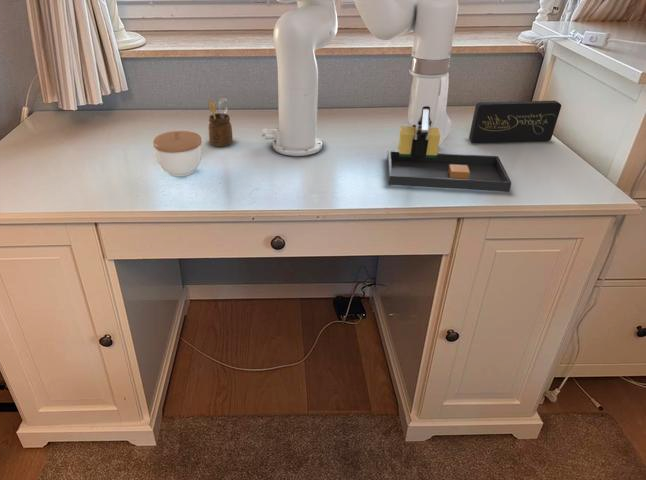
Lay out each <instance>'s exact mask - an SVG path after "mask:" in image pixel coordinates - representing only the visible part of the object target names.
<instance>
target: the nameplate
mask: <svg viewBox="0 0 646 480" xmlns="http://www.w3.org/2000/svg"><path fill="white" fill-rule="evenodd" d="M561 110H562V103H560V102H559V101H557V100H521V101H520V100H519V101H518V100H517V101H513V100H512V101H479V102H478V103H476V104H475V107H474V112H473V117H472V122H471V125H470V131H469V135H468V140H469V141H470V142H471V143H472V144H501V143H502V144H509V143H511V144H512V143H547V142H549V141H551V140H552V138H553V135H554V131H555V128H556V125H557V121H558V118H559V115H560V112H561Z"/></svg>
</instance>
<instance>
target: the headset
mask: <svg viewBox="0 0 646 480" xmlns="http://www.w3.org/2000/svg"><path fill="white" fill-rule="evenodd" d="M449 79H450V77H449V73H448V74H447V75H446V76H444V77H441V83H440V90H439V97H438V104H437V110H436V115H435V120H434V125H433V126H431V127H435V128H438V129H439V133H440V141H439V147H442V145H443V143H444V140H445V139H446V138H447V137H448V136H449V134H450V133H451V130H452V120H451V118H450V117H449V114H448V113H447V105H448V97H449V96H448V95H449V84H450V82H449V81H450V80H449Z"/></svg>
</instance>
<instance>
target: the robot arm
mask: <svg viewBox="0 0 646 480" xmlns="http://www.w3.org/2000/svg"><path fill="white" fill-rule="evenodd" d="M275 1H276V2H277V3H280V4H290V3H296V5H297V8H293V9H291V10H287V11H286V12H285V13H283V14H282V15H280V17H278V19H277V21H276V23H275V25H274V27H273V32H272V33H273V35H272V36H273V45H274V46H273V47H274V50H275V51H274V52H275V57H276V65H277V67H276V68H277V97H278V98H277V99H278V100H277V101H278V102H277V104H278V105H277V106H278V126H277V127H275V128H274V129H271V128H262V129H261V137H264V140H273V141H272V148H273V150H274V151H275V152H277V153H279V154H281V155H285V156H289V157H305V156H311V155H314V154H317V153H318V152H320V151H322V149H323V141H322V140H321V138H319V137H317V135H318V134H317V129H318V103H319V102H318V97H319V68H318V63H317V59H316V55H315V52H316V51H317V50H320V49H323V48H325V47H327V46H328V45H330V43H332V42H333V41H334V40H335V38H336V35H337V32H338V15H337V9H336V4H335V0H275ZM353 3H354V5H355V7H356V9H357V11H358V12H357V13H358V14H359V16H360V17H361V20H362V22H363V23H364V25H365V27H366V29H367V30H368V31H369V33H370V34H371V35H372V36H373V37H374V38H376V39H378V40H382V41H390V40H393V39H395V38H397V37H400V36H403V35H406V34H409V33H413V38H412V39H413V41H412V48H411V57H410V64H409V65H410V66H409V71H408V72H409V74H410V75H411V76H412V82H411V88H410V95H409V102H408V108H407V119H408V124H409V126H410V127H415V136H414V139H413V141H412V149H411V157H417V158H425V157H426V153H427V146H428V135H429V127H431V126H433V125H434V120H435V115H436V110H437V104H438V97H439V96H440V90H441V77H444V76H446V75H447V74H448V75H449V68H450V63H451V54H452V48H453V42H454V37H455V30H456V26H457V25H456V24H457V18H458V11H459V1H458V0H353ZM418 128H421V130H419V131H418Z"/></svg>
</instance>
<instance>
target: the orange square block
mask: <svg viewBox="0 0 646 480" xmlns="http://www.w3.org/2000/svg"><path fill="white" fill-rule="evenodd" d="M448 172H449V176H450V178H460V179H469V175H470V171H469V168H468V166H467V165H454V164H449V168H448Z"/></svg>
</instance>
